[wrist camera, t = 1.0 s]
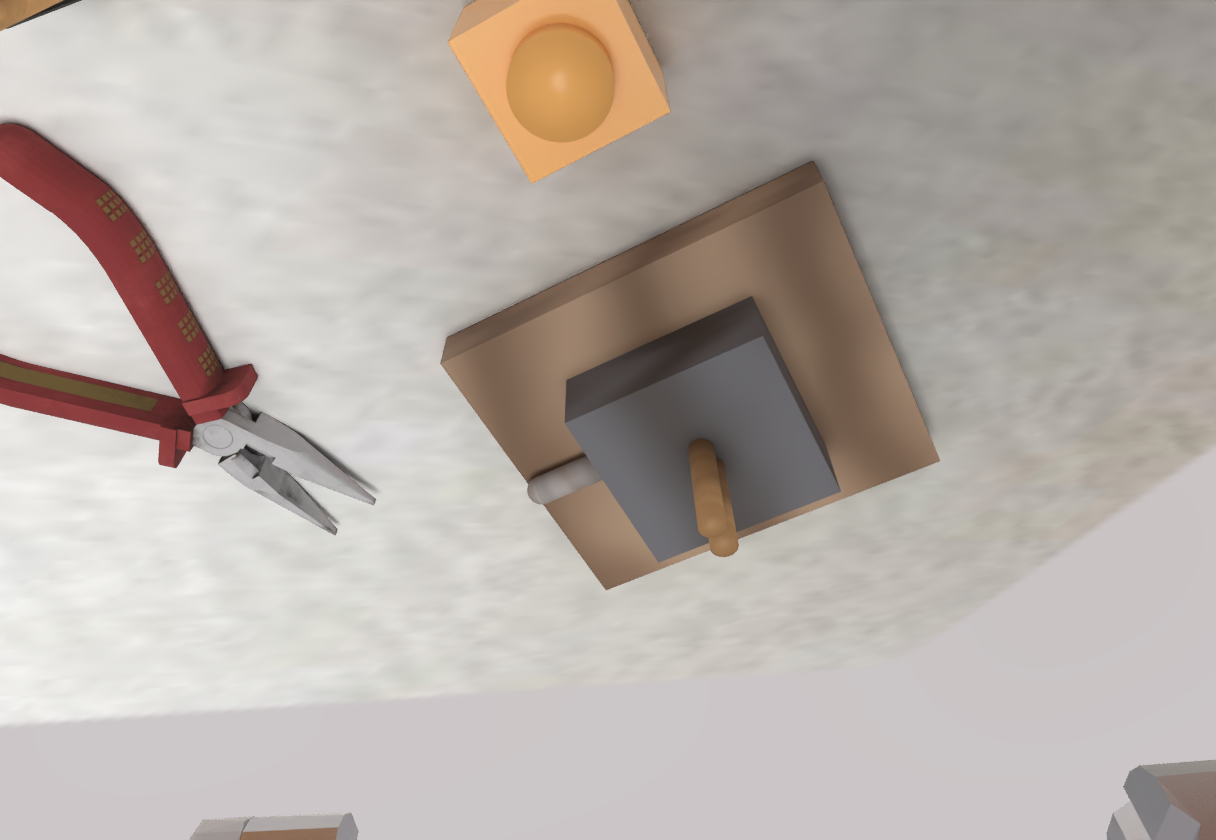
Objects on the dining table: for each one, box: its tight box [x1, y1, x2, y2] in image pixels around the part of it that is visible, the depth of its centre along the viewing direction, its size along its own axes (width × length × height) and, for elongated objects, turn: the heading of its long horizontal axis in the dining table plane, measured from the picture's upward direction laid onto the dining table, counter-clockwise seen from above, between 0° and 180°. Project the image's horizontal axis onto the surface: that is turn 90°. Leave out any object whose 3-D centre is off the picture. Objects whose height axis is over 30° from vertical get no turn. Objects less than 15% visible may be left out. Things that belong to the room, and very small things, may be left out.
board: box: [440, 161, 940, 590], centre depth 38 cm, size 16×14×10 cm
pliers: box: [0, 124, 376, 535], centre depth 41 cm, size 12×20×3 cm, turn 43°
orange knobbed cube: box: [448, 0, 671, 183], centre depth 32 cm, size 5×5×6 cm
